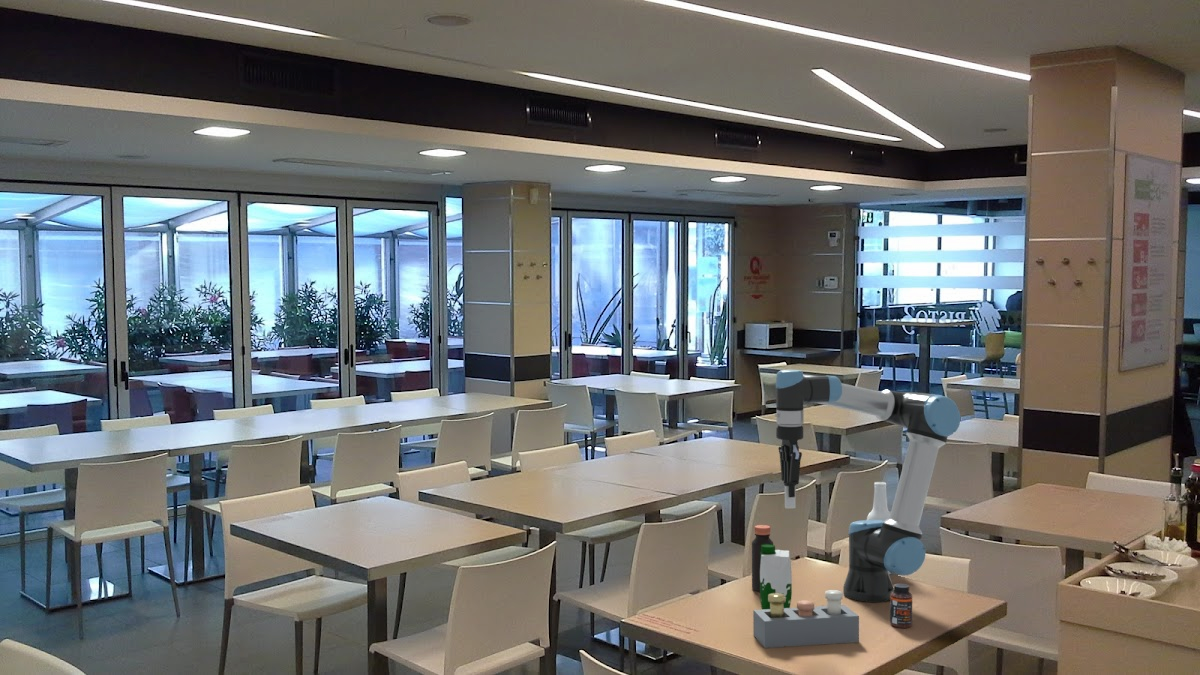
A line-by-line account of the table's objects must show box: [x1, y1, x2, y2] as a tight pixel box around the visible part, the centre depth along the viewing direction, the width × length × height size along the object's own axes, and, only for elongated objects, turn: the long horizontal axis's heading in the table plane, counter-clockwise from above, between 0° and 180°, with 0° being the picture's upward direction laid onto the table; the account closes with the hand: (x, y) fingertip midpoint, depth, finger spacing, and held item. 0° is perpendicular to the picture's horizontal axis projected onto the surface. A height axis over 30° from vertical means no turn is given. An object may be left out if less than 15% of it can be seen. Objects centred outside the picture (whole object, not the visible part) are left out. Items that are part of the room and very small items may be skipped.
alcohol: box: [866, 481, 893, 575], centre depth 336 cm, size 9×9×30 cm
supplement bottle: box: [889, 583, 913, 629], centre depth 280 cm, size 6×6×11 cm
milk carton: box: [759, 544, 793, 610], centre depth 292 cm, size 9×9×20 cm
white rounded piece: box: [824, 589, 844, 615], centre depth 271 cm, size 5×5×7 cm
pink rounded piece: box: [796, 599, 815, 617], centre depth 270 cm, size 5×5×7 cm
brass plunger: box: [768, 593, 786, 618], centre depth 269 cm, size 5×5×7 cm
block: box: [752, 604, 860, 649], centre depth 270 cm, size 26×10×7 cm, turn 98°
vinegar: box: [751, 524, 774, 593], centre depth 317 cm, size 7×7×20 cm
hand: (790, 507), depth 284 cm, fingers closed
